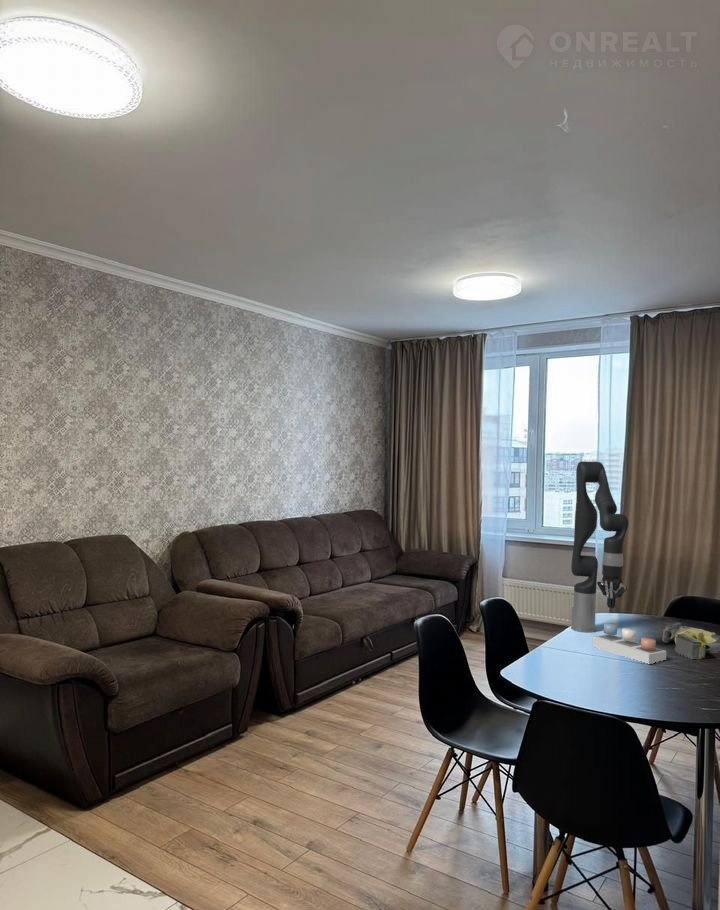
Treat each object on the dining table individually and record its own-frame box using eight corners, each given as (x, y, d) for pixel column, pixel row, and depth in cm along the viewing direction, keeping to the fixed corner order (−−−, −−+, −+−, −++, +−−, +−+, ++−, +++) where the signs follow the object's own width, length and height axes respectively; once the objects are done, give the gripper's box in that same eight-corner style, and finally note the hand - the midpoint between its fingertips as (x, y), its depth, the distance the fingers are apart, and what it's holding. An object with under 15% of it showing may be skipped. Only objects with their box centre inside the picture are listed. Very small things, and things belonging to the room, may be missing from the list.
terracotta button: (638, 647, 242) (638, 638, 242) (646, 646, 244) (646, 637, 244) (649, 651, 237) (650, 642, 237) (658, 650, 240) (658, 640, 240)
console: (593, 646, 256) (593, 636, 257) (609, 643, 261) (610, 633, 261) (648, 665, 235) (649, 653, 235) (666, 661, 240) (666, 650, 240)
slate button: (600, 632, 256) (601, 623, 256) (609, 631, 259) (609, 622, 259) (611, 635, 252) (611, 626, 252) (619, 634, 255) (620, 625, 255)
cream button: (619, 637, 249) (619, 628, 249) (627, 636, 252) (627, 627, 252) (630, 641, 245) (630, 632, 245) (638, 639, 247) (639, 630, 247)
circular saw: (665, 636, 276) (730, 652, 258) (639, 648, 254) (707, 666, 237) (667, 612, 276) (732, 626, 258) (641, 622, 254) (710, 638, 237)
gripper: (592, 561, 260) (591, 604, 259) (620, 567, 248) (618, 612, 248) (605, 561, 263) (603, 603, 263) (633, 566, 252) (631, 610, 252)
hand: (611, 607), depth 256 cm, fingers closed
